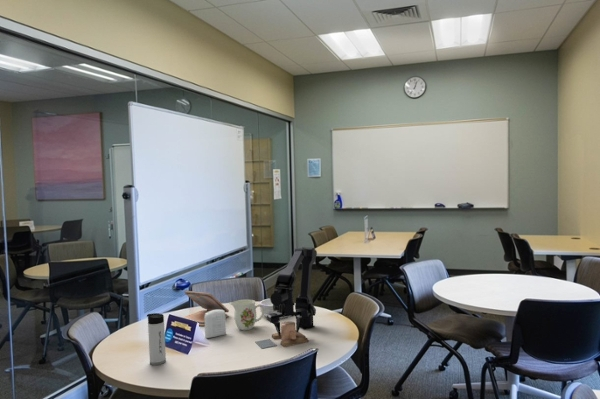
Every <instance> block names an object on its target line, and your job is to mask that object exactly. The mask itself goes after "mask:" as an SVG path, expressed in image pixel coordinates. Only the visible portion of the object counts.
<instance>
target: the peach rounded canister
mask: <svg viewBox="0 0 600 399" xmlns="http://www.w3.org/2000/svg"><path fill="white" fill-rule="evenodd" d="M295 330H296V321H295V322H294V321H286V320H285V321H283V322H280V332H281V338H280V339H281V340H280V342H281V341H285V340H290V339H296V332H295Z"/></svg>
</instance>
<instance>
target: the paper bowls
mask: <svg viewBox="0 0 600 399" xmlns="http://www.w3.org/2000/svg"><path fill="white" fill-rule="evenodd" d="M259 304H261V305H262V306H263V307H264V315H263V316H265V318H267V315H268V314H271V313H276V314H277V315H279V314H281V313H279V312H278V313H277V311H274V310H273V304H272V303H271V300H270V298H266V299H263V300H261V301H260V302H259ZM259 311H260V313H261V314H262V309H261V307H259Z"/></svg>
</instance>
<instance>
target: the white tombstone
mask: <svg viewBox="0 0 600 399" xmlns="http://www.w3.org/2000/svg"><path fill="white" fill-rule="evenodd" d="M225 314H226V312H225V311H224V310H212V311H209V312H207V313H205V326H204V335H205V336H204V337H205V338H206V339H210V338H214V337H220V336H224V335H227V328H226V327H227V325H226V318H227V317H225Z"/></svg>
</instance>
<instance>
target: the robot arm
mask: <svg viewBox="0 0 600 399" xmlns="http://www.w3.org/2000/svg"><path fill="white" fill-rule="evenodd" d="M317 255H318V251H317V249H315V247H308V246H307V247H305V246H304V247H297V248H295V249H294V252H293V255H292V257H291V259H290V260H289V262H288V264H287V266H286V267H285V268H283V269H282V270H281V271H280V272H279V274H278V275H277V277H276V281H275V285H274V290H273V293H272V294H271V296H270V297H269V299H270V300H271V303H272V304H273V310H274V311H277V313H278V312H279V313H281V314H279V315H277V314H276V313H271V314H268V315H267V317H266V320H267V322H269V323H270V324H273V326H274V327H275V330H276V332H277V333H278V335H279V336H280V332H281V322H280V320H281V319H286V318H292V317H295V330H296V332H298V331H299V332H300V329H302V330H307V329H312V328H316V326H315V325H314V316H316V313H317V312H316V311H317V309H316V308H315V306H314V302H313V299H312V296H311V282H312V271H313V270H312V269H313V268H312V267H313V265H314V263H315V262H316V258H317ZM300 265H301V278H300V279H301V280H300V291H299V294H298V296H297V297H296V298H295V301H294V289H295V286H294V285H295V282H296V280H297V274H296V273H297V271H298V269H299V267H300Z"/></svg>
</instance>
